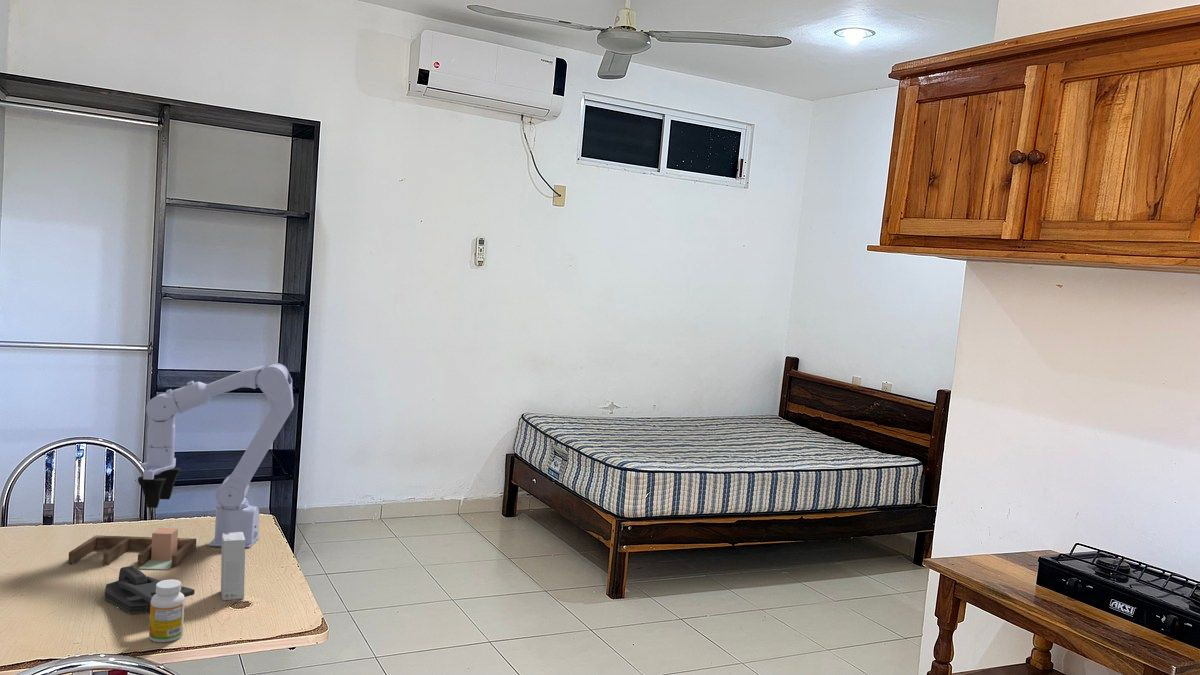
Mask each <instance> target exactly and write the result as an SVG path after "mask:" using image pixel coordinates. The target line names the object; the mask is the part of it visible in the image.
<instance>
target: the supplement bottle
mask: <svg viewBox="0 0 1200 675" xmlns="http://www.w3.org/2000/svg"><path fill="white" fill-rule="evenodd" d="M181 586H182V582H181V581H180V580H178V579H172V578H171V579H170V578H169V579H164V580H160V582H158V583H157V584H156V594H155V595H154V596H153V597H152V599H151V606H150V613H149V630H148V631H149V632H148V633H149V635H148V636H149V639H150V641H153V642H155V643H169V642H173V641H177V640H178V639H180V638H182V636H183V634H184V622H185V620H184V618H185V598H186V597H184V595H183V594H182V593H181V592H180V591H181Z"/></svg>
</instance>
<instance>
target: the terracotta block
mask: <svg viewBox="0 0 1200 675" xmlns="http://www.w3.org/2000/svg"><path fill="white" fill-rule="evenodd" d="M178 535H179V528H171V527H170V528H169V527H165V528H164V527H163V528H162V527H159V528H157V529H156V530H155V531H154V532H152V533H151V537H152V552H151V560H167V561H170V560H172V555H173V554H174V553H176V552H177V540H178V538H179V537H178Z"/></svg>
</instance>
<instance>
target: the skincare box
mask: <svg viewBox="0 0 1200 675" xmlns="http://www.w3.org/2000/svg"><path fill="white" fill-rule="evenodd" d="M220 550H221V553H220V554H221V563H220V564H221V565H220V566H221V567H220V592H221V593H220V595H221V600H222V601H235V600H236V601H237V600H244V598H245V577H246V576H245V573H246V566H245V565H246V547H245V537H244V534H243V532H233V533H223V534H222V546H221V549H220Z"/></svg>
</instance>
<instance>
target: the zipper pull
mask: <svg viewBox="0 0 1200 675" xmlns="http://www.w3.org/2000/svg"><path fill="white" fill-rule="evenodd" d="M160 581H161V580H159V579H156V578H153V577H151V576H147V575H146V574H145V573H144V572H142V571H141V569H139V568H137V567H135V566H133V565H128V566H122V567H121V568H120V569H119V573H118V580H116V581H113V582H110V583H106V585H105V587H104V601H105V602H107V603H108V604H110V605H112V606H114V607H115V608H117V607H118V608H117V609H118V610H120V611H122V612H124V613H126V614H128V615H147V614H150V606H151V599H152V597H153V596H154V595H155V594H156V584H157V583H158V582H160ZM180 592H181V593H182V594H183V595H184V597H185V598H188V597H190V596H194V595H195V592H196V591H195V589H194V588H190V587H186V586H183V585H181V591H180Z"/></svg>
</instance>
